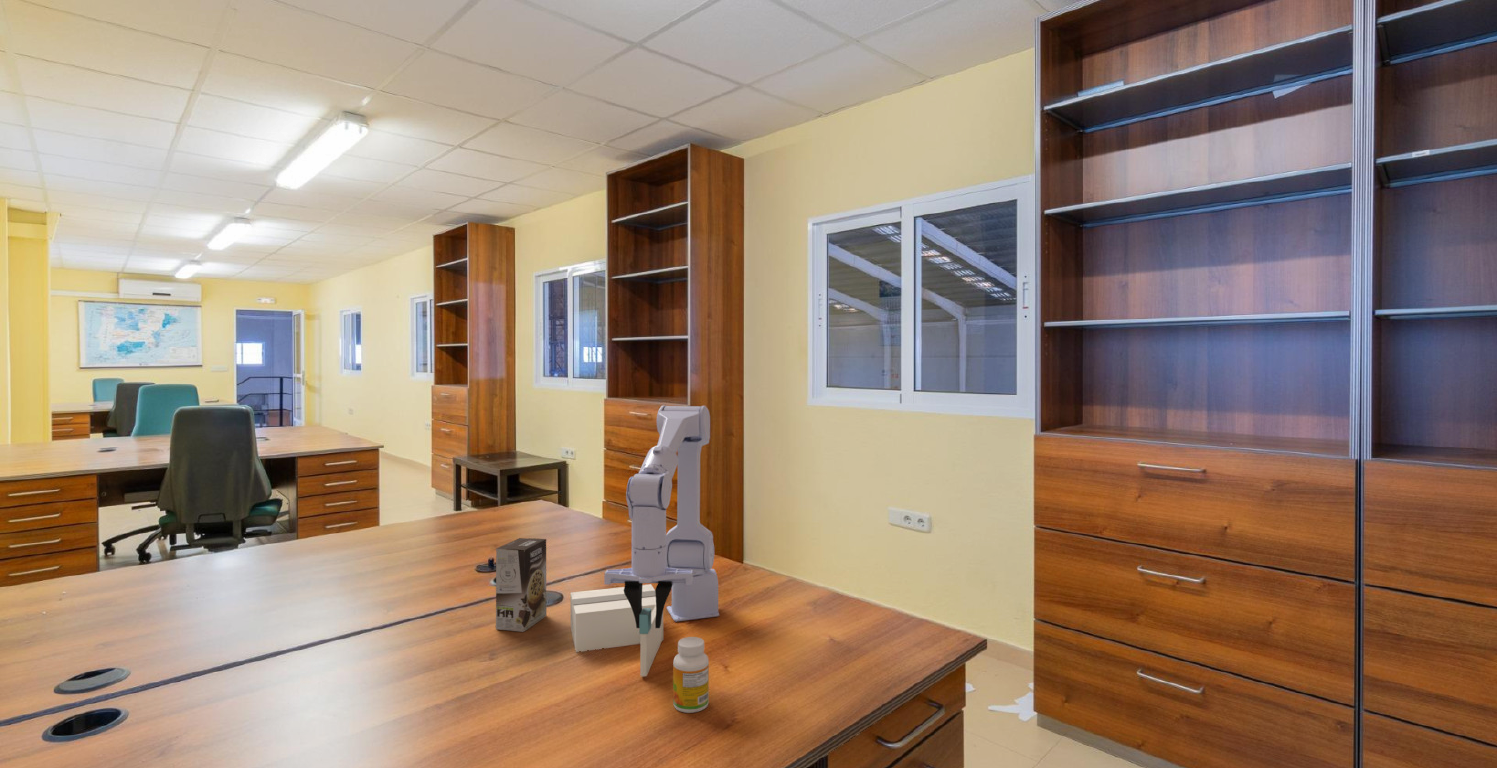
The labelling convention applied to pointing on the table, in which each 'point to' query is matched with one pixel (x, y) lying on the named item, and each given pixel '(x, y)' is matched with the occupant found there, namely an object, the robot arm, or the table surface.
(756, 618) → the table surface
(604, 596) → the carton
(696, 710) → the supplement bottle
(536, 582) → the coffee box
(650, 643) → the green beige flat block
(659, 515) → the robot arm
